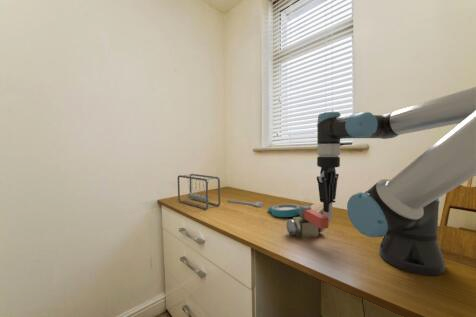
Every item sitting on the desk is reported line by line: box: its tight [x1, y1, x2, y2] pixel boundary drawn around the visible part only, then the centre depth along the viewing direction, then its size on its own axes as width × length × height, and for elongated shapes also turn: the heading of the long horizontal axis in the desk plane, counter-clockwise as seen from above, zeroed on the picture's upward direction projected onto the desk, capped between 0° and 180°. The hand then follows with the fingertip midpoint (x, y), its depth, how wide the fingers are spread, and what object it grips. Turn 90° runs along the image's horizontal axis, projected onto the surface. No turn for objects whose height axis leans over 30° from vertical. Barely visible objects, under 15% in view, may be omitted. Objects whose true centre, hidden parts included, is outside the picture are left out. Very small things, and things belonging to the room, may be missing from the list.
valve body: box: [285, 216, 326, 240], centre depth 82 cm, size 13×7×7 cm, turn 103°
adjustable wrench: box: [227, 199, 264, 208], centre depth 128 cm, size 25×6×2 cm, turn 56°
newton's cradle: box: [177, 173, 221, 210], centre depth 128 cm, size 30×10×18 cm, turn 48°
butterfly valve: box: [267, 201, 323, 218], centre depth 104 cm, size 27×7×30 cm
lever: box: [299, 205, 329, 230], centre depth 77 cm, size 14×4×4 cm, turn 13°
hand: (327, 219), depth 75 cm, fingers closed
